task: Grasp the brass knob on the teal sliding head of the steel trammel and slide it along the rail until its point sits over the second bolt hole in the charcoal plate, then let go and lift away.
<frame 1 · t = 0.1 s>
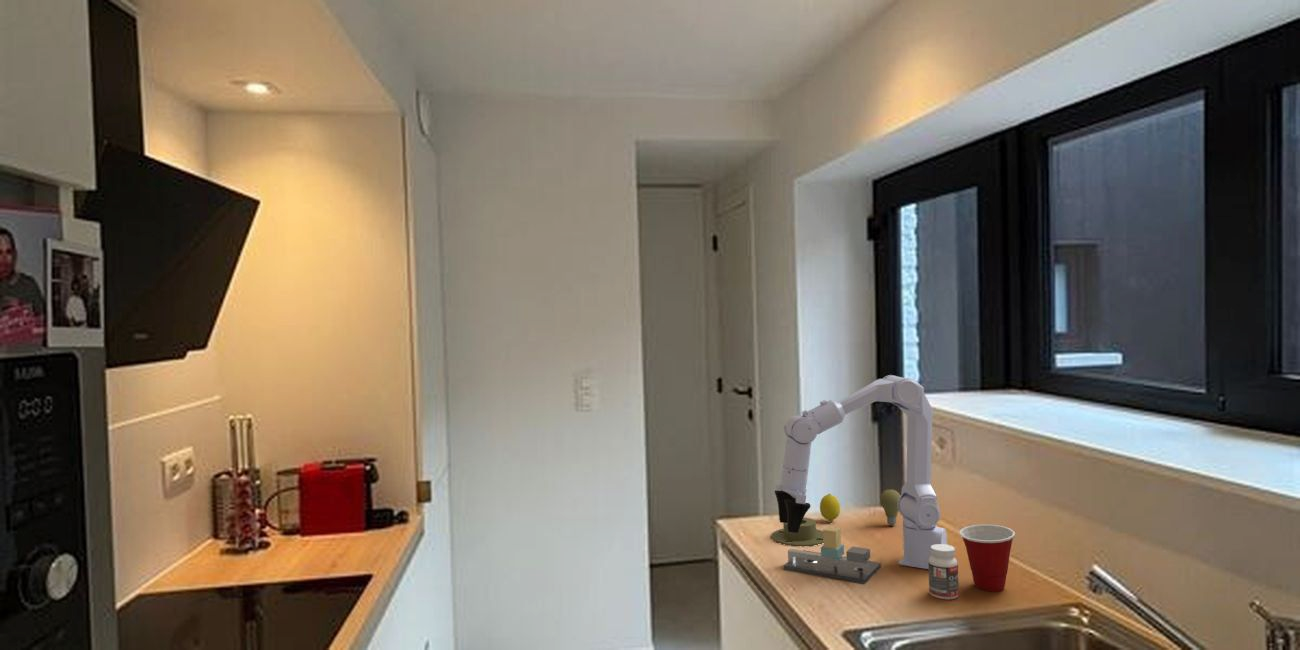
hand: (788, 527, 166), 11 cm above the worktop, tool pointing down, fingers open, 7 cm apart
hole plate: (832, 568, 168), on the worktop
plastic cup: (988, 587, 154), on the worktop
flange: (800, 539, 192), on the worktop
sliding head: (832, 547, 166), point 6 cm above the worktop, slide at -1.0 cm
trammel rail: (828, 556, 166), on the hole plate, point 3 cm above the worktop
pill bottle: (944, 595, 150), on the worktop
light bulb: (891, 526, 199), on the worktop
lemon: (830, 522, 205), on the worktop
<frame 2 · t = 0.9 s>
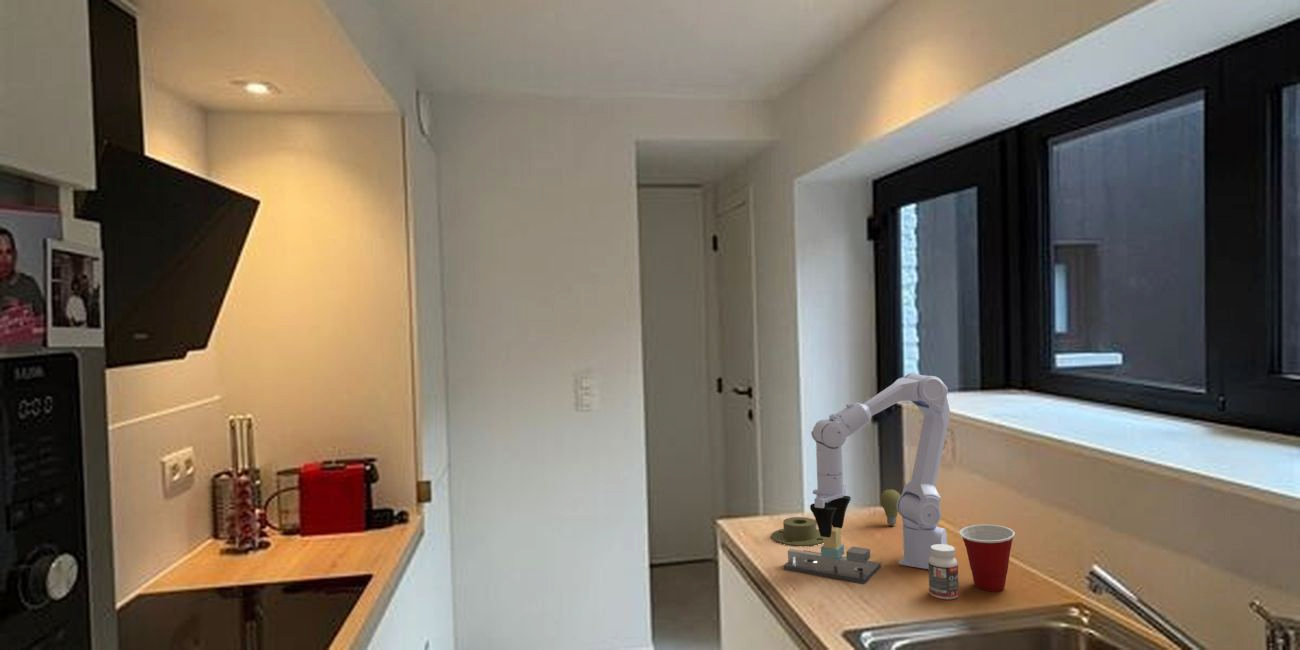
hand: (831, 532, 166), 9 cm above the worktop, tool pointing down, fingers open, 7 cm apart
nothing on the worktop moved.
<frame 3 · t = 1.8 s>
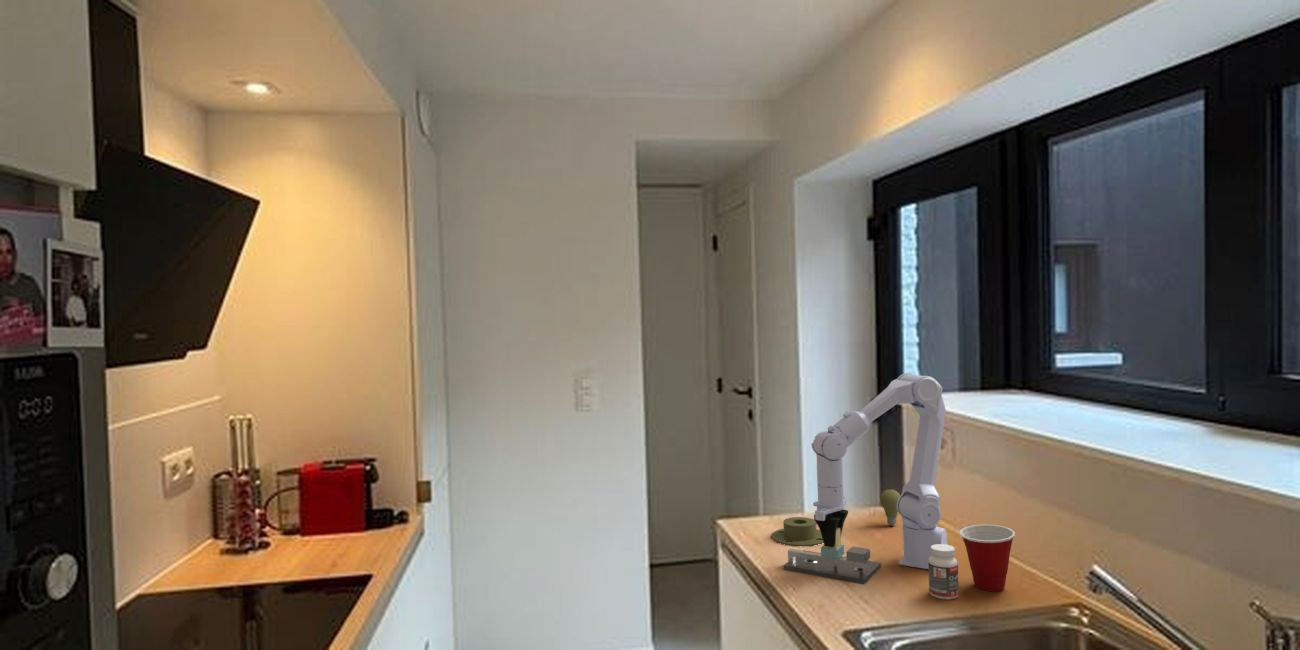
hand: (832, 544, 166), 6 cm above the worktop, tool pointing down, fingers closed on sliding head, 3 cm apart
sliding head: (832, 547, 166), point 6 cm above the worktop, slide at -1.0 cm, touching gripper
everything else where it was.
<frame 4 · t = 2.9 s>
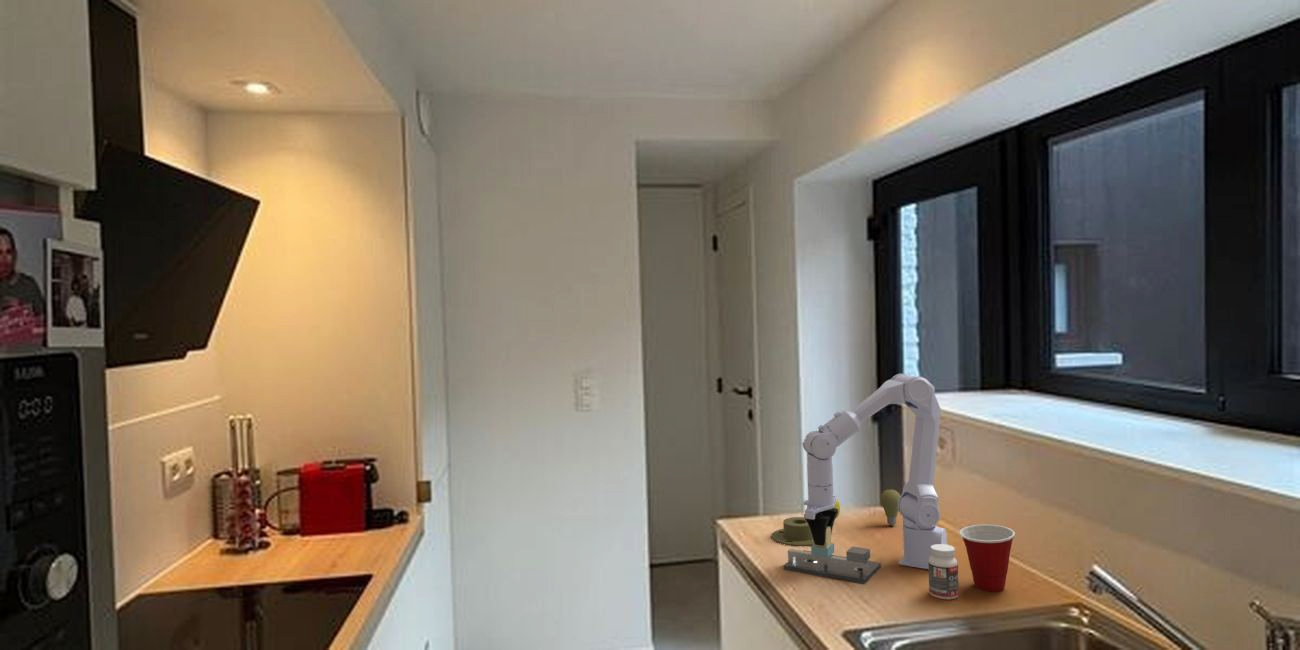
hand: (822, 542, 167), 6 cm above the worktop, tool pointing down, fingers closed on sliding head, 3 cm apart
sliding head: (822, 546, 167), point 6 cm above the worktop, slide at 1.3 cm, touching gripper
everything else where it was.
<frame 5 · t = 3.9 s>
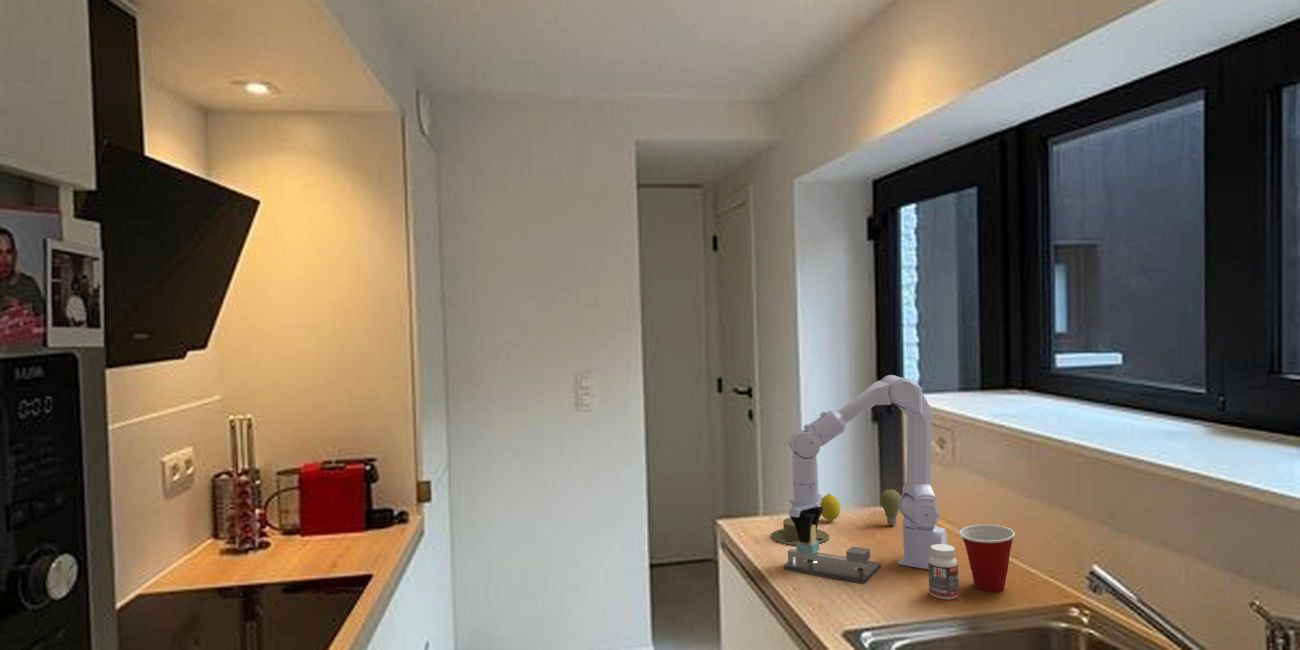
hand: (807, 540, 169), 6 cm above the worktop, tool pointing down, fingers closed on sliding head, 3 cm apart
sliding head: (807, 543, 169), point 6 cm above the worktop, slide at 5.0 cm, touching gripper
everything else where it was.
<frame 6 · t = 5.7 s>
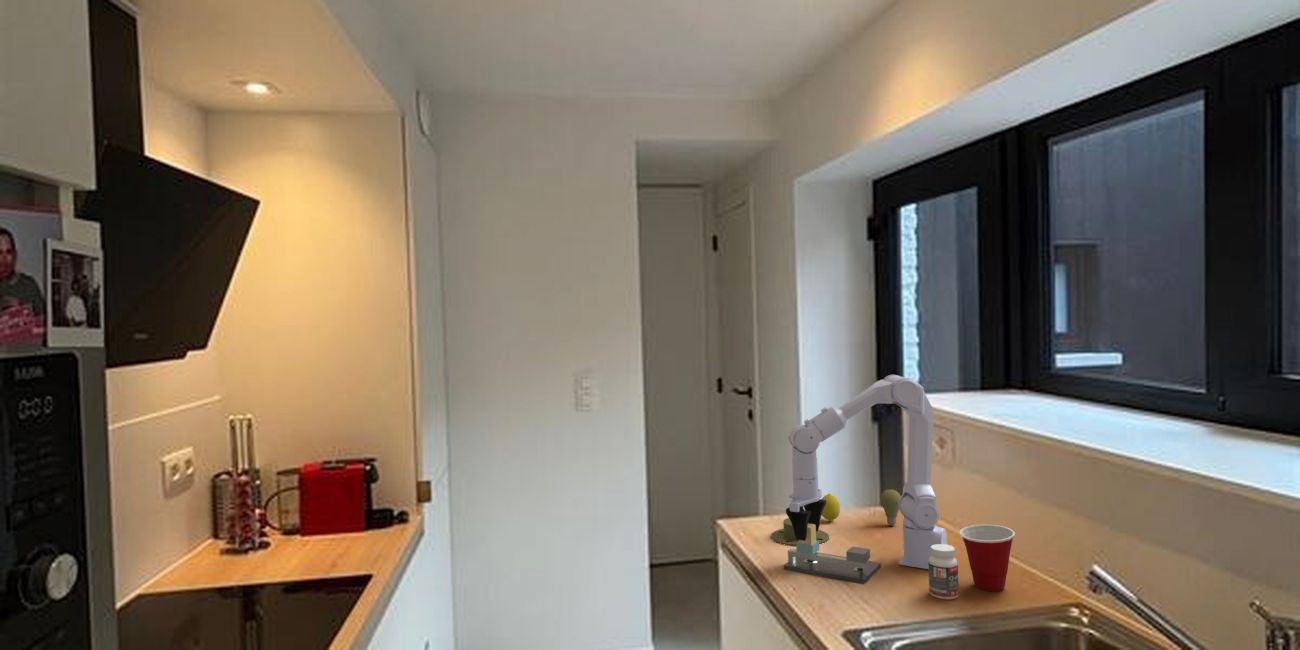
hand: (807, 535, 169), 8 cm above the worktop, tool pointing down, fingers open, 7 cm apart
sliding head: (807, 543, 169), point 6 cm above the worktop, slide at 5.0 cm
everything else where it was.
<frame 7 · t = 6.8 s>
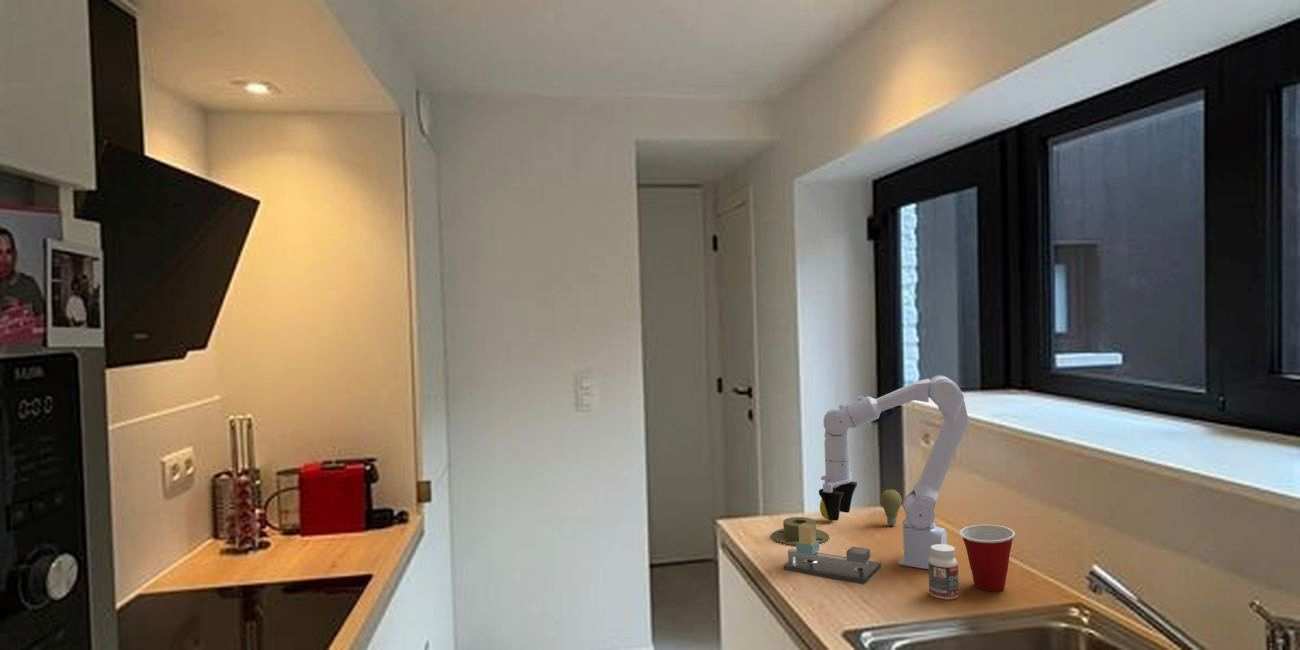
hand: (839, 515, 174), 10 cm above the worktop, tool pointing down, fingers open, 7 cm apart
nothing on the worktop moved.
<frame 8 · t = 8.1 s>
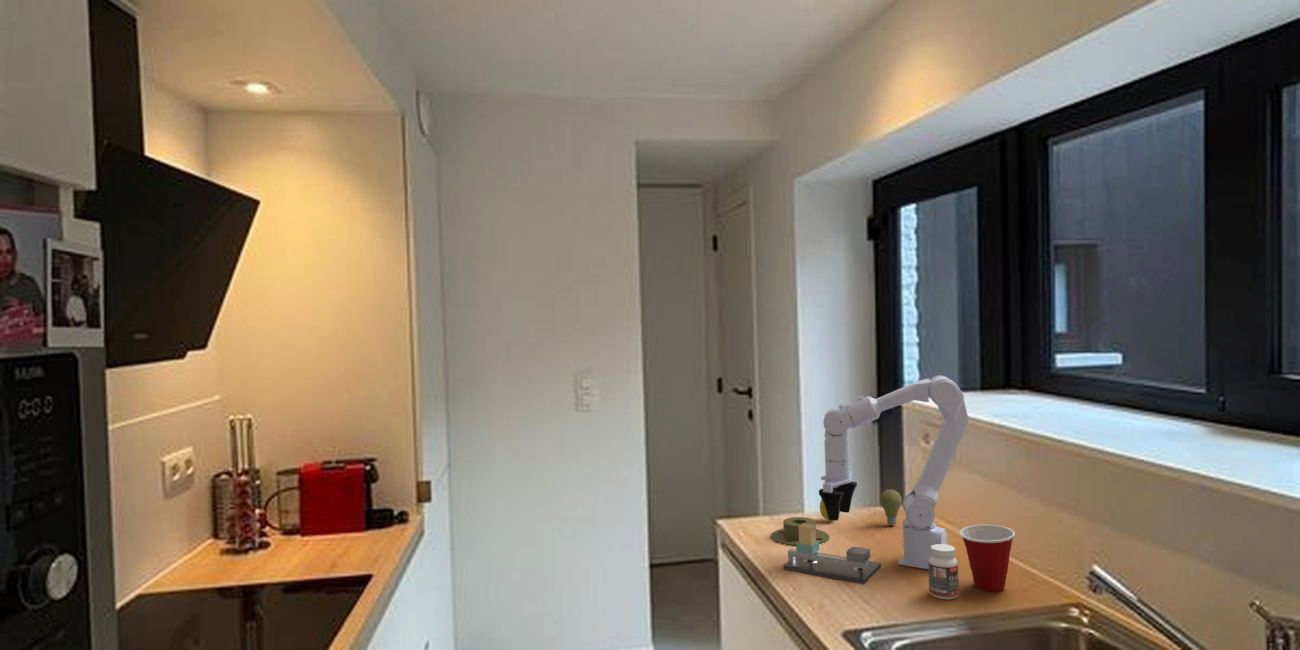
hand: (839, 515, 174), 10 cm above the worktop, tool pointing down, fingers open, 7 cm apart
nothing on the worktop moved.
at the end: sliding head slide at 5.0 cm; the gripper is holding nothing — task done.
